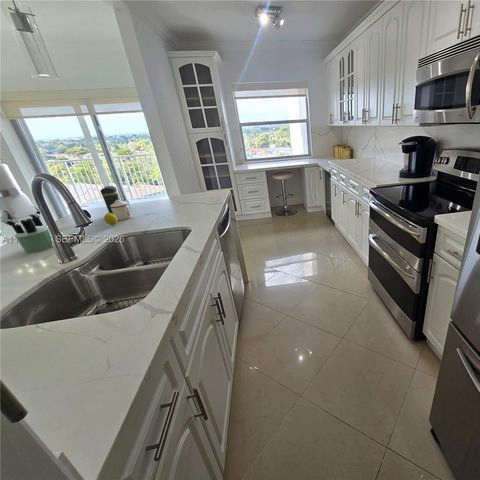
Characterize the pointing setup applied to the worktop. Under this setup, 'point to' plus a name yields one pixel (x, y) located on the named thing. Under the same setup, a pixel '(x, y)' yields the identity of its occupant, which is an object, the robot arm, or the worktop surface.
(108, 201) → the coffee jar
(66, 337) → the worktop surface
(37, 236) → the green round open container
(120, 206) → the teacup with lid
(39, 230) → the lid
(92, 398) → the worktop surface
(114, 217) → the lemon
